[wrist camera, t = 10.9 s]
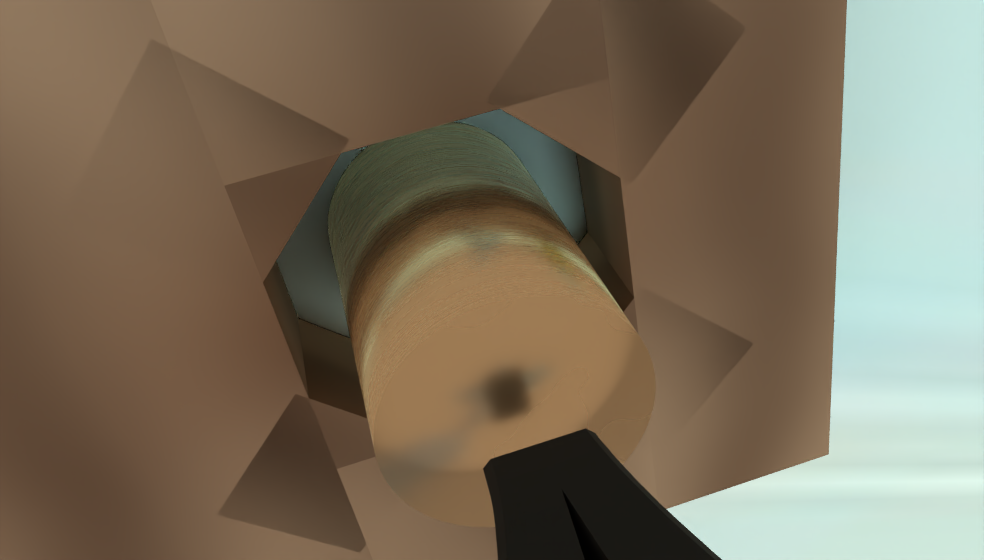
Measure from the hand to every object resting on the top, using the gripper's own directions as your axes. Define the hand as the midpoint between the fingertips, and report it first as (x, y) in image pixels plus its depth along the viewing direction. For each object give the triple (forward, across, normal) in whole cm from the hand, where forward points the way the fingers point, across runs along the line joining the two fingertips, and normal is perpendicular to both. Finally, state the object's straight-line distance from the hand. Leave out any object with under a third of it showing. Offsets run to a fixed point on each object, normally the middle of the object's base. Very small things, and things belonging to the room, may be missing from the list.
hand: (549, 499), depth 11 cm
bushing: (+8, 0, 0) cm, 8 cm away
